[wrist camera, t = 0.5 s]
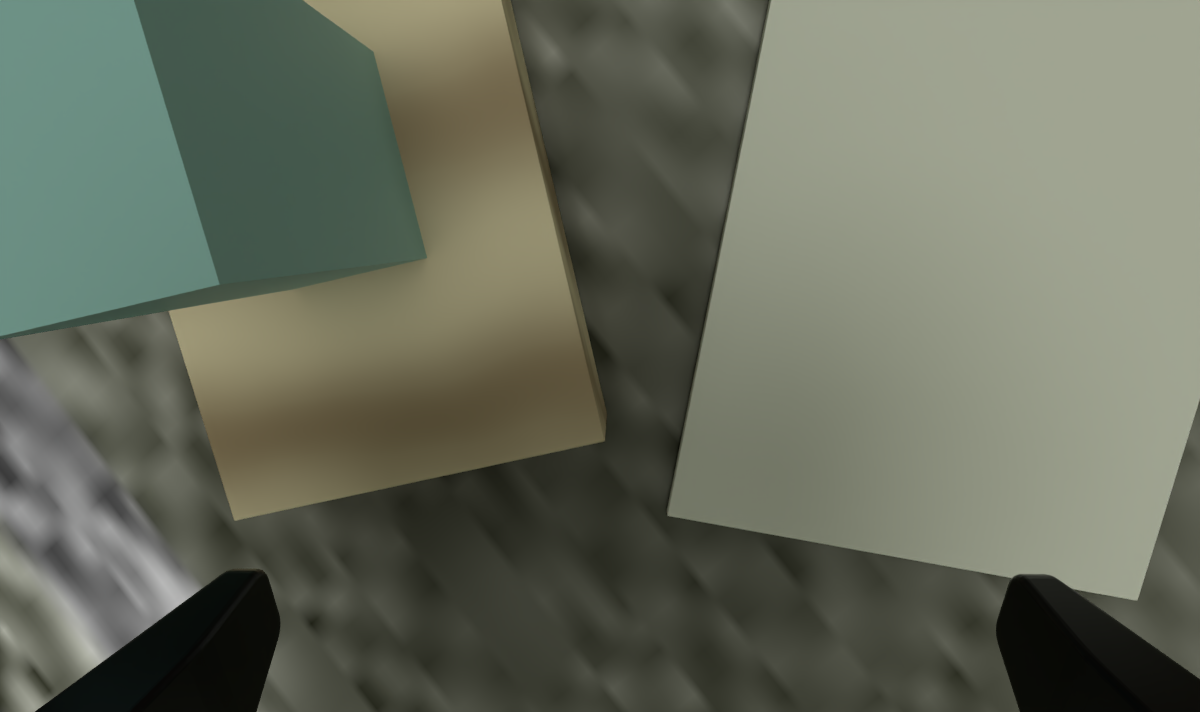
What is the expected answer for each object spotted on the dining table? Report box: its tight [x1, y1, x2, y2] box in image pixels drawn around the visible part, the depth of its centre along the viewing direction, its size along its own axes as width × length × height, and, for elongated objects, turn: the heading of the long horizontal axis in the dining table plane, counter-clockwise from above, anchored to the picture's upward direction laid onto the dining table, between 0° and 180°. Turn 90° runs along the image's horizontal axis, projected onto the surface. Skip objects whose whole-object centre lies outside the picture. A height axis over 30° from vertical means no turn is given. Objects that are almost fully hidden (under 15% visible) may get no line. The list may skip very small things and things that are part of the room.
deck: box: [169, 0, 607, 521], centre depth 20 cm, size 16×10×3 cm, turn 13°
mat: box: [667, 0, 1200, 600], centre depth 21 cm, size 20×14×1 cm
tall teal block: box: [0, 0, 427, 339], centre depth 14 cm, size 5×4×10 cm
